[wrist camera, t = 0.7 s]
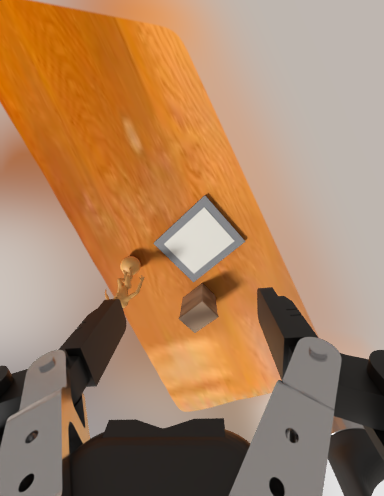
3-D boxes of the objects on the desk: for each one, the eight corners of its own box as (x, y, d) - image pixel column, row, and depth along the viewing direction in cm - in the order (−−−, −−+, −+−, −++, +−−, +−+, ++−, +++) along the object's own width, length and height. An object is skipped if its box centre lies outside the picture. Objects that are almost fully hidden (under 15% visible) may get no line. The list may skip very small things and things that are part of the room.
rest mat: (244, 240, 39) (245, 241, 38) (193, 280, 43) (193, 282, 42) (204, 195, 36) (205, 195, 35) (154, 242, 40) (153, 243, 39)
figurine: (146, 246, 41) (124, 274, 29) (158, 270, 42) (143, 304, 31) (112, 260, 42) (80, 291, 31) (126, 283, 44) (100, 319, 33)
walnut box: (216, 295, 44) (218, 316, 37) (196, 310, 46) (194, 333, 39) (202, 282, 43) (202, 301, 36) (182, 297, 45) (178, 318, 38)
